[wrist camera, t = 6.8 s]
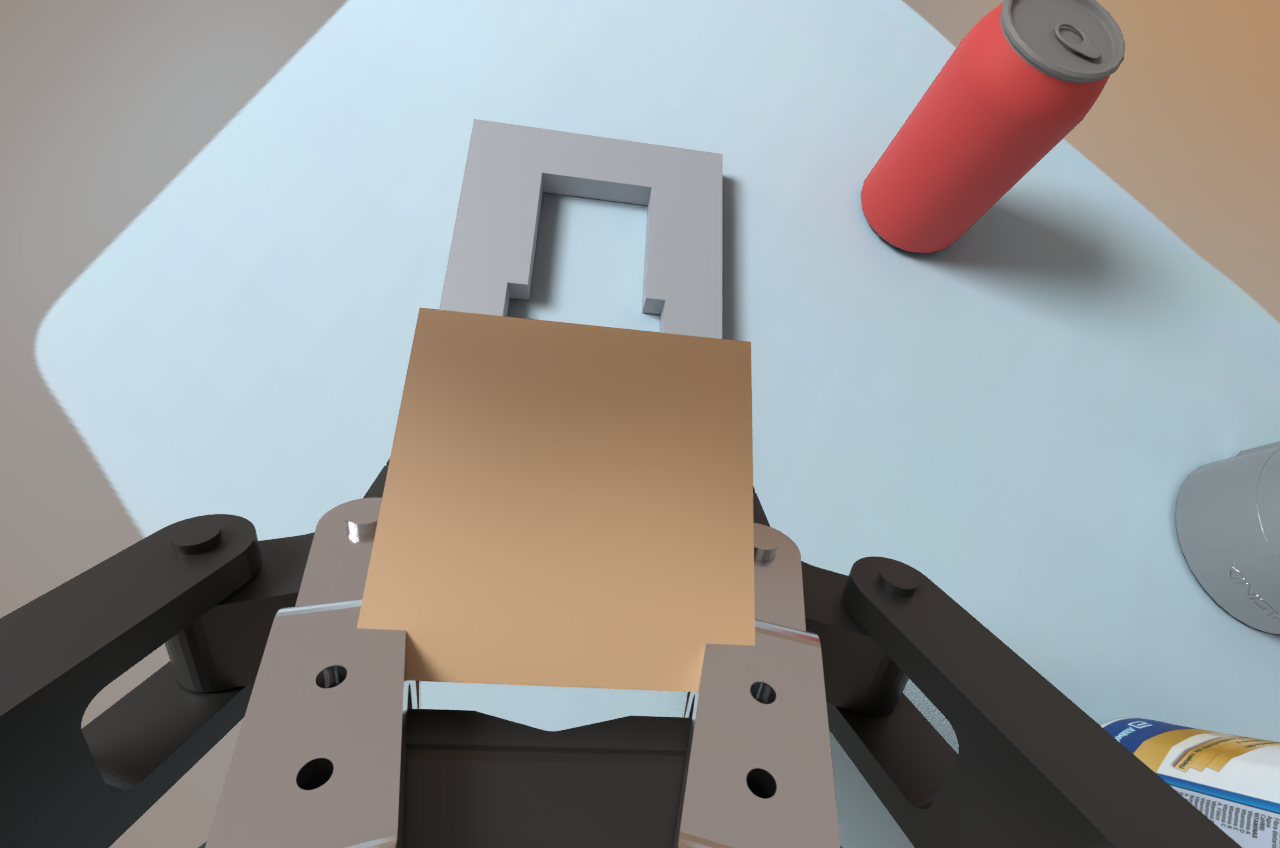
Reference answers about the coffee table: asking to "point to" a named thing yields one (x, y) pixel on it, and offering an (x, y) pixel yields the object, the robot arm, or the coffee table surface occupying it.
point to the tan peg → (566, 505)
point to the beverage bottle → (1213, 774)
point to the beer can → (990, 118)
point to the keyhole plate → (600, 169)
